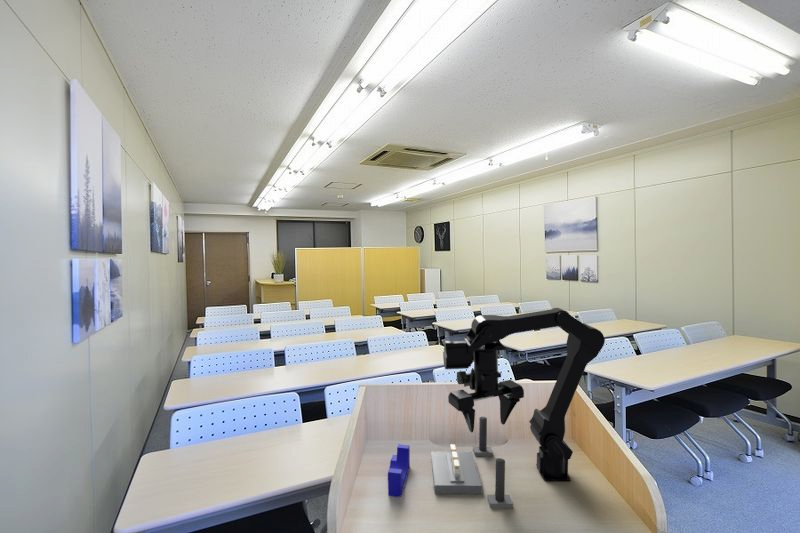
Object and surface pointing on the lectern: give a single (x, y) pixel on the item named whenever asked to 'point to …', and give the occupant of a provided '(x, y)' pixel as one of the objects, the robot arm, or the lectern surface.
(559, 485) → the lectern surface
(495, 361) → the robot arm
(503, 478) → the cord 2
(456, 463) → the breaker paddles
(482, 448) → the grey post on base
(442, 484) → the breaker panel
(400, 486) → the cable clip
